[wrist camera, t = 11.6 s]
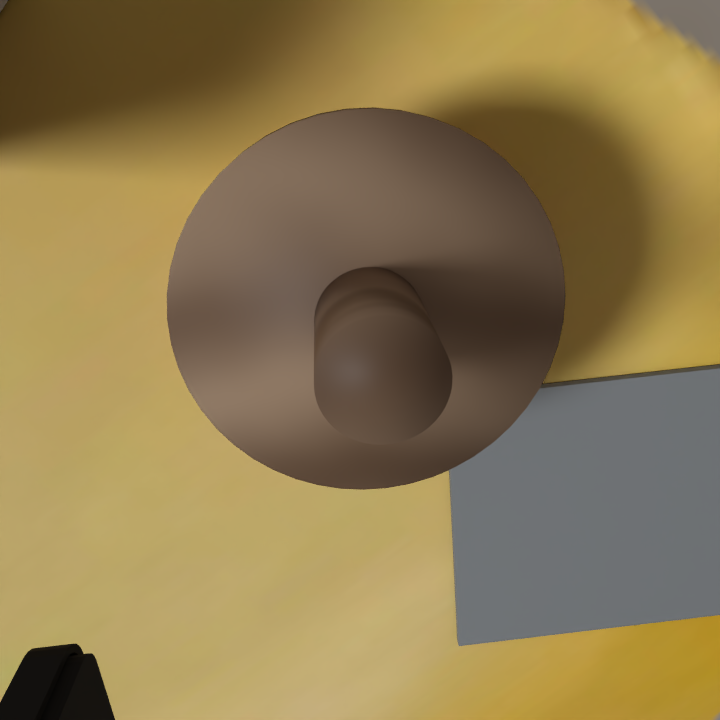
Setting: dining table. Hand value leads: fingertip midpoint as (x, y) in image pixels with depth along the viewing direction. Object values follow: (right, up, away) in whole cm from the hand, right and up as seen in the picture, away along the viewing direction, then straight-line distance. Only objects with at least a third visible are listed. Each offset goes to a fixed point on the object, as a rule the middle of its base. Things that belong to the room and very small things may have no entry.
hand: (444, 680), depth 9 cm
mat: (+11, -3, +25) cm, 27 cm away
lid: (-1, +6, +14) cm, 15 cm away
